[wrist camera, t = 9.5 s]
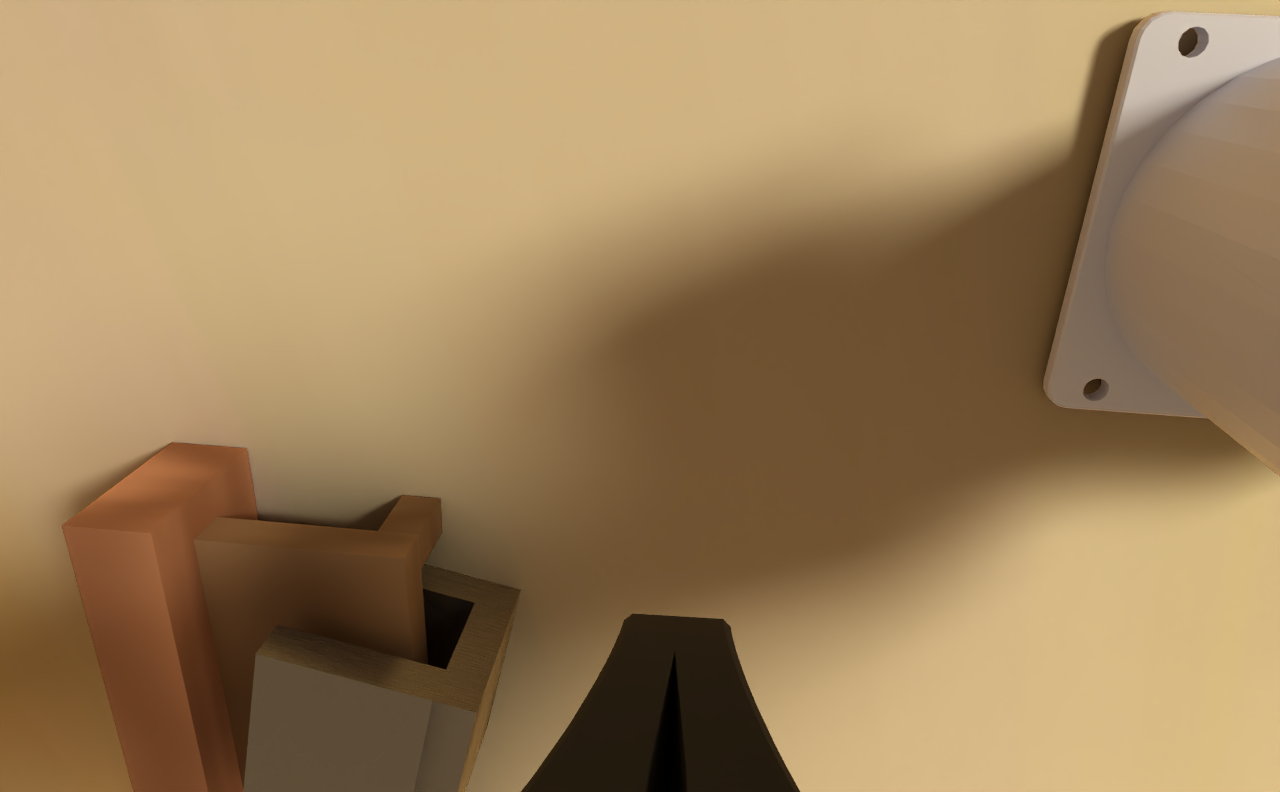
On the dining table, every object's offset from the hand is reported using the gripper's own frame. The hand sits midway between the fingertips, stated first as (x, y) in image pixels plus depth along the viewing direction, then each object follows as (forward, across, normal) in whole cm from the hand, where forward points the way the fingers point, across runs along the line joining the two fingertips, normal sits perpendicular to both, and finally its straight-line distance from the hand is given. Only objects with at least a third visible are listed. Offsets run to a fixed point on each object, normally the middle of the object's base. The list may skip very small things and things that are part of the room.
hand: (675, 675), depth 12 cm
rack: (+10, +10, +9) cm, 16 cm away
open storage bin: (+10, +7, +8) cm, 14 cm away
